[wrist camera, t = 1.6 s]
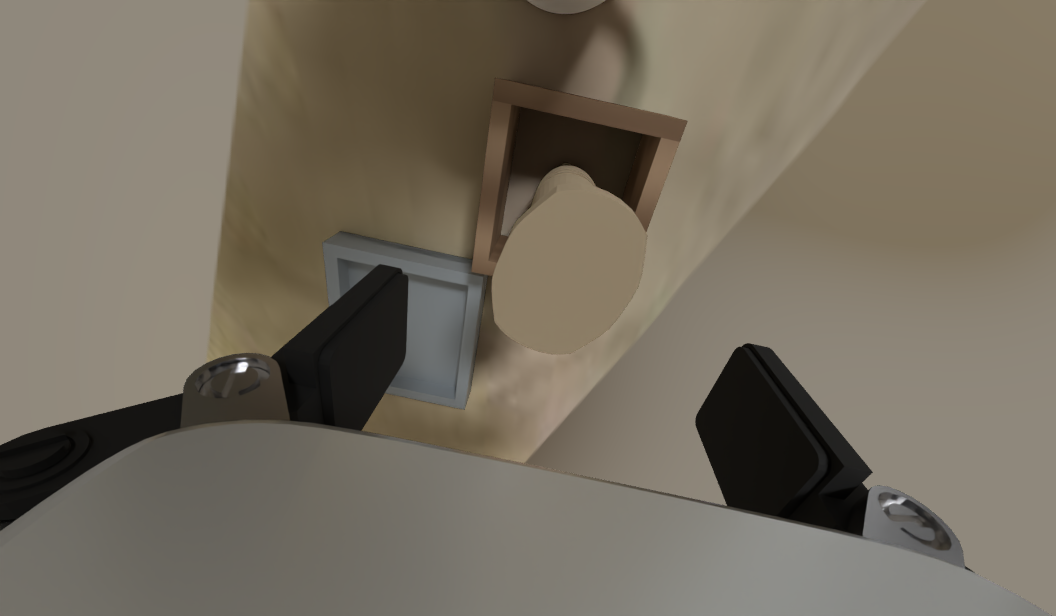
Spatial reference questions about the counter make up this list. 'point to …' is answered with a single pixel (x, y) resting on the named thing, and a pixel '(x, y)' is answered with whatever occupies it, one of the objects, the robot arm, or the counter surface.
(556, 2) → the mug
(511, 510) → the robot arm
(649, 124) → the holder
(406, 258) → the tray
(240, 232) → the counter surface
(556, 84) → the counter surface
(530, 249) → the handle
